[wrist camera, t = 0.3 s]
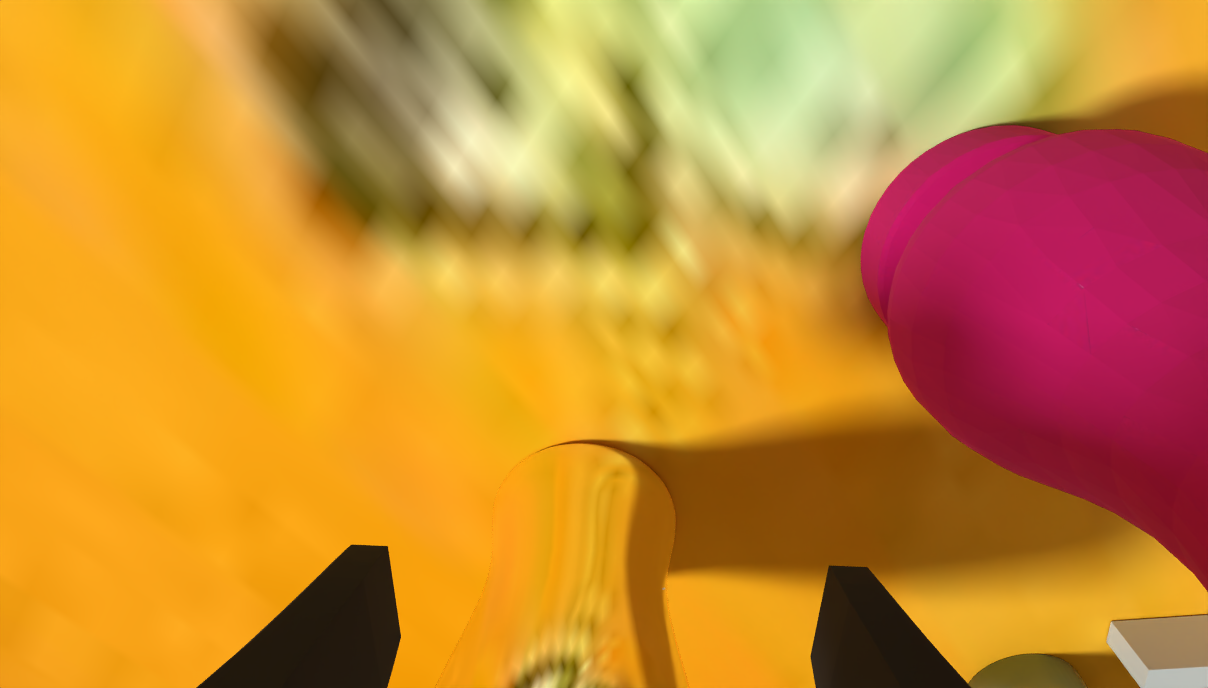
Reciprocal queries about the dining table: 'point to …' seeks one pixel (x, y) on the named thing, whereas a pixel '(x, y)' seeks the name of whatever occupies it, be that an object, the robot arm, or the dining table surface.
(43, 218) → the dining table surface
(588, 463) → the pale grey carved column
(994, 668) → the bottle
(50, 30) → the dining table surface
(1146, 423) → the pepper mill
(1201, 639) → the rest
